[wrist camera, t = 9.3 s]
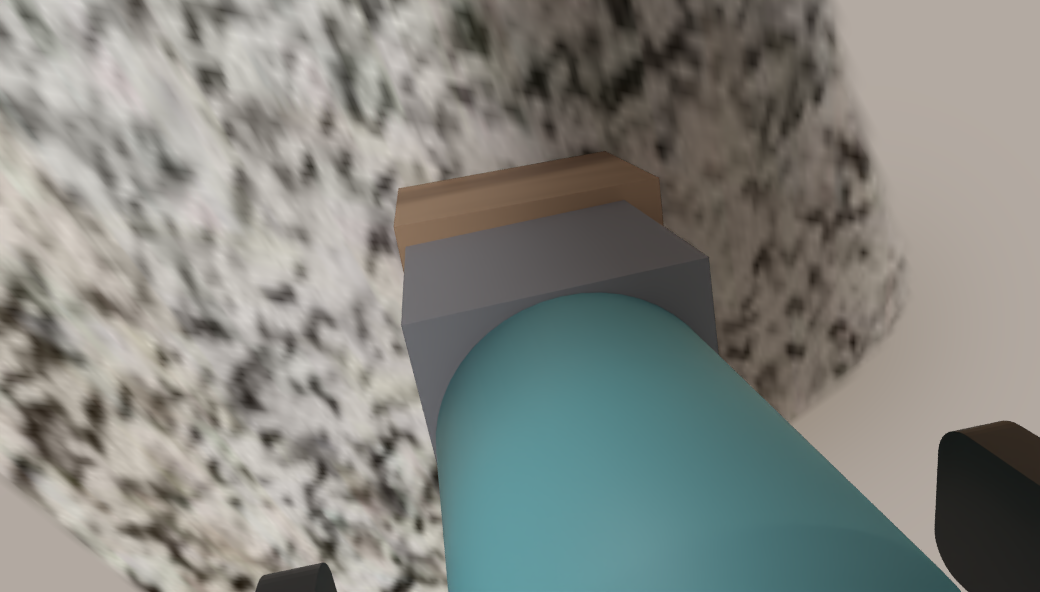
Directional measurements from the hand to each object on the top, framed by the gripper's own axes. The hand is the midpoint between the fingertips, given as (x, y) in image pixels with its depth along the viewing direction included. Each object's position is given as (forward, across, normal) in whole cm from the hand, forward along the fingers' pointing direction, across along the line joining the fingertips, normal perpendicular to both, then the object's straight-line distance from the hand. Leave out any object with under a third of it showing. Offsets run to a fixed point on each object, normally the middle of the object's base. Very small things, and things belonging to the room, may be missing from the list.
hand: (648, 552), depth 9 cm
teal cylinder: (+3, 0, 0) cm, 3 cm away
